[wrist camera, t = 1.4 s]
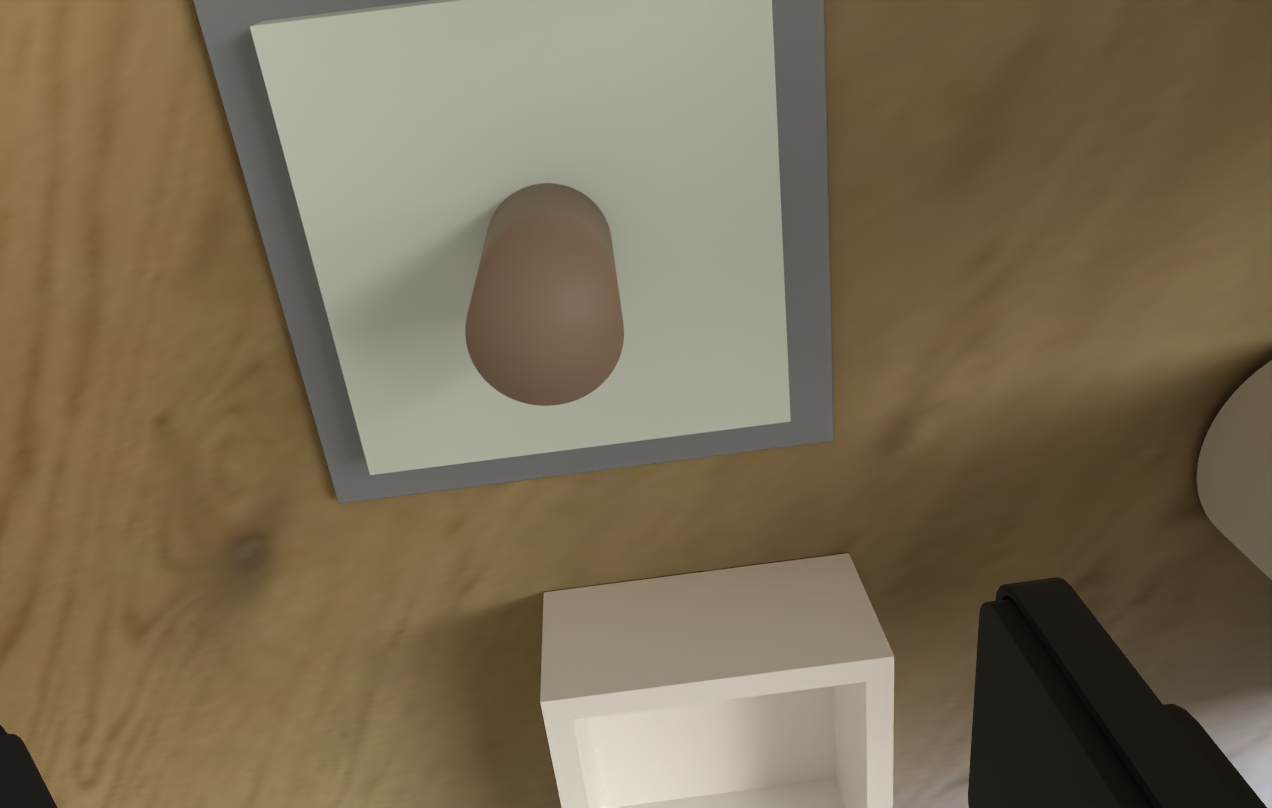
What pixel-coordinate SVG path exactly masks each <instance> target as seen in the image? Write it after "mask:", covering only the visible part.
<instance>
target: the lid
mask: <svg viewBox="0 0 1272 808" xmlns="http://www.w3.org/2000/svg"><path fill="white" fill-rule="evenodd" d="M250 30H251V34H252V37H253V41H254V45H255V48H256V52H257V56H258V60H259V63H260V67H261V71H262V75H263V78H264V82H265V86H266V89H267V93H268V97H269V101H270V104H271V108H272V112H273V115H274V119H275V123H276V127H277V130H278V134H279V138H280V142H281V145H282V149H283V153H284V156H285V160H286V164H287V168H288V171H289V175H290V179H291V183H292V186H293V190H294V194H295V197H296V201H297V205H298V209H299V212H300V216H301V220H302V224H303V227H304V231H305V235H306V238H307V242H308V246H309V250H310V253H311V257H312V261H313V264H314V268H315V272H316V276H317V279H318V283H319V287H320V291H321V294H322V298H323V302H324V305H325V309H326V313H327V317H328V320H329V324H330V328H331V332H332V335H333V339H334V343H335V346H336V350H337V354H338V358H339V361H340V365H341V369H342V372H343V376H344V380H345V384H346V387H347V391H348V395H349V399H350V402H351V406H352V410H353V413H354V417H355V421H356V425H357V428H358V432H359V436H360V440H361V443H362V447H363V451H364V454H365V458H366V462H367V466H368V469H369V473H370V475H375V474H383V473H391V472H399V471H407V470H414V469H422V468H430V467H438V466H446V465H454V464H461V463H469V462H477V461H485V460H493V459H501V458H508V457H516V456H524V455H532V454H540V453H548V452H556V451H563V450H571V449H579V448H587V447H595V446H603V445H610V444H618V443H626V442H634V441H642V440H650V439H657V438H665V437H673V436H681V435H689V434H697V433H705V432H712V431H720V430H728V429H736V428H744V427H752V426H759V425H767V424H775V423H783V422H791V418H790V395H789V373H788V351H787V328H786V306H785V283H784V261H783V239H782V216H781V194H780V171H779V149H778V127H777V104H776V82H775V59H774V37H773V15H772V0H429V1H421V2H413V3H405V4H397V5H389V6H381V7H373V8H365V9H357V10H349V11H341V12H332V13H324V14H316V15H308V16H300V17H292V18H284V19H276V20H268V21H262V22H260V23H257V24H254V25H252V26H250Z"/></svg>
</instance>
